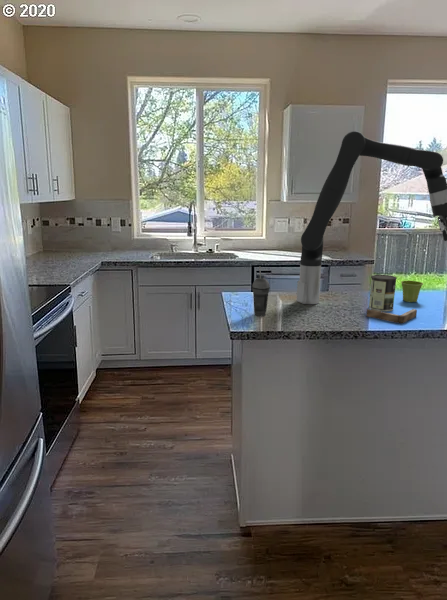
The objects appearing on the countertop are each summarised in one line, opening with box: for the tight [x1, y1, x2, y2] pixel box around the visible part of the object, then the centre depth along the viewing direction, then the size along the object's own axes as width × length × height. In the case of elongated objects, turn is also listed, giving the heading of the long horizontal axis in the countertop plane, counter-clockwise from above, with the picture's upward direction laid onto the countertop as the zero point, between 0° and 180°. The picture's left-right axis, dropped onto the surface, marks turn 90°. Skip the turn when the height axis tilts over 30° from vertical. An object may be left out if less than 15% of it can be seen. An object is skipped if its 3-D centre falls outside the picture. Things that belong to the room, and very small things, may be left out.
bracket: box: [366, 308, 418, 325], centre depth 181 cm, size 11×21×3 cm, turn 92°
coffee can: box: [368, 274, 398, 312], centre depth 196 cm, size 10×10×14 cm
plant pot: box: [400, 280, 424, 303], centre depth 210 cm, size 9×9×9 cm
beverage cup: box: [251, 266, 270, 317], centre depth 184 cm, size 7×7×20 cm
